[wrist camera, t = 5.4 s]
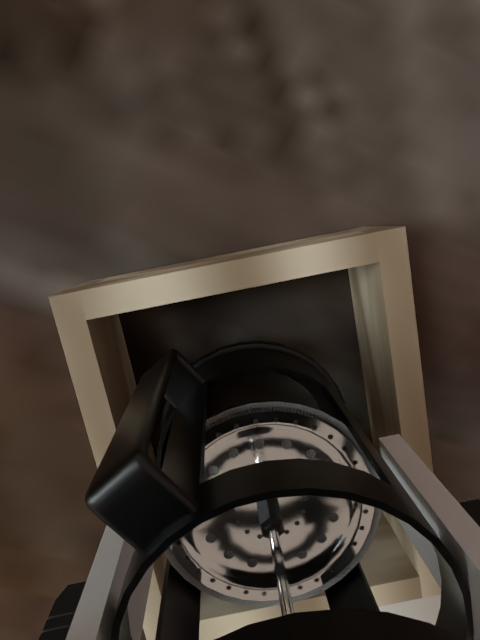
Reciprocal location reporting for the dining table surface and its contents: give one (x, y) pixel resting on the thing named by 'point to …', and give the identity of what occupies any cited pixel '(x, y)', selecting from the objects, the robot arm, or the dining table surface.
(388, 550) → the holder
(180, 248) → the dining table surface
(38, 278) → the dining table surface
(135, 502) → the french press
